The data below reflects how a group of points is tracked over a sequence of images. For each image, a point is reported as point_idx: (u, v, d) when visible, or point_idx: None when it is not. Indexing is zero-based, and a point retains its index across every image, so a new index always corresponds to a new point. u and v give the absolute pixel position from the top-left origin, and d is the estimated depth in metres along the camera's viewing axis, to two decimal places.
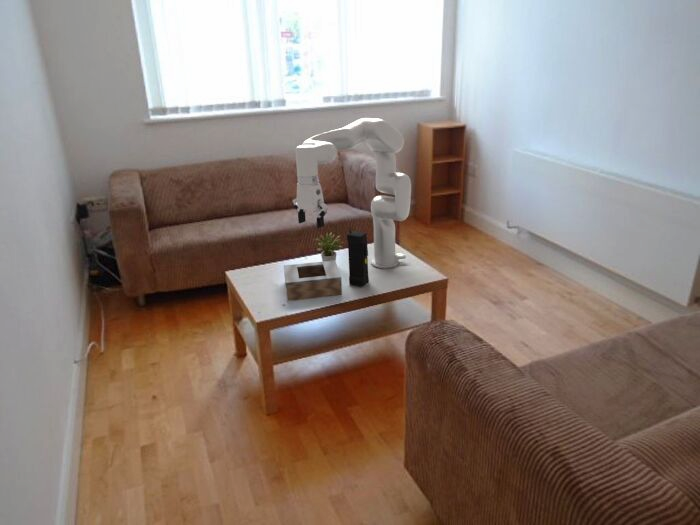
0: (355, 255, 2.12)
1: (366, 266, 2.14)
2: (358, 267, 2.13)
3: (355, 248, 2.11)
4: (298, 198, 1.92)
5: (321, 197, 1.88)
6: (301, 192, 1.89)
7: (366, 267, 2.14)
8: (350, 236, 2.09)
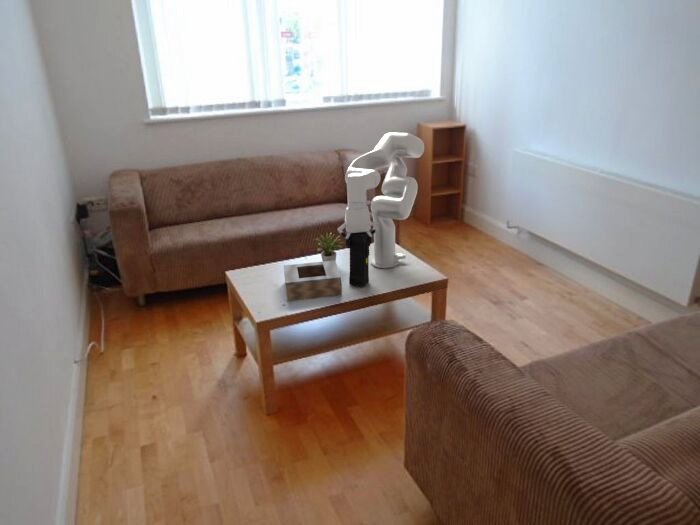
0: (356, 255, 2.12)
1: (367, 266, 2.14)
2: (358, 267, 2.13)
3: (357, 247, 2.11)
4: (349, 224, 2.05)
5: None
6: (355, 217, 2.04)
7: (367, 267, 2.14)
8: (352, 235, 2.09)
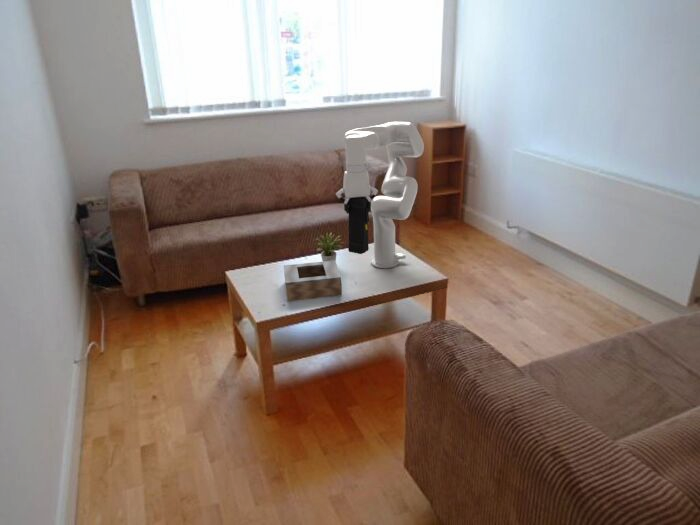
0: (355, 220, 2.07)
1: (366, 232, 2.09)
2: (358, 233, 2.08)
3: (356, 213, 2.05)
4: (348, 188, 2.00)
5: None
6: (354, 180, 1.99)
7: (366, 233, 2.09)
8: (350, 200, 2.03)
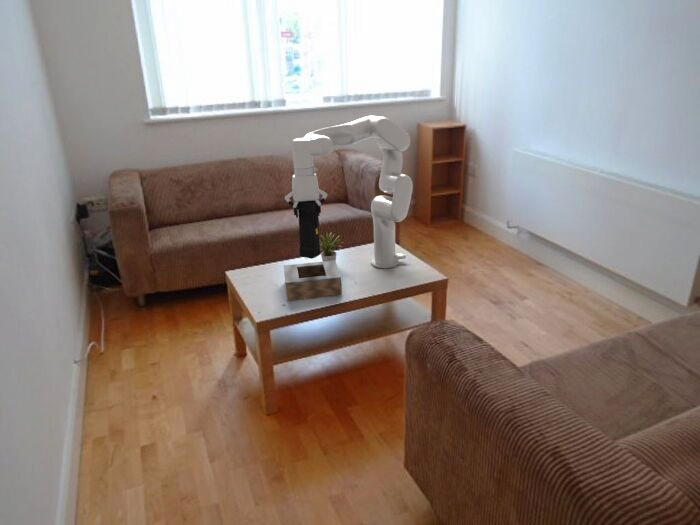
0: (305, 225, 2.04)
1: (317, 237, 2.06)
2: (308, 238, 2.05)
3: (305, 217, 2.02)
4: (296, 191, 1.97)
5: None
6: (302, 184, 1.96)
7: (317, 237, 2.06)
8: (300, 204, 2.00)
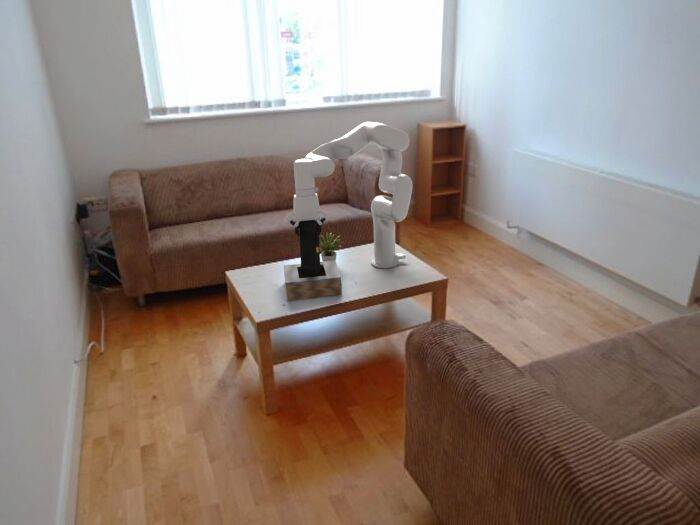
0: (306, 243, 2.07)
1: (318, 255, 2.09)
2: (309, 256, 2.08)
3: (306, 236, 2.05)
4: (297, 211, 2.00)
5: None
6: (303, 204, 1.99)
7: (318, 256, 2.09)
8: (301, 223, 2.03)
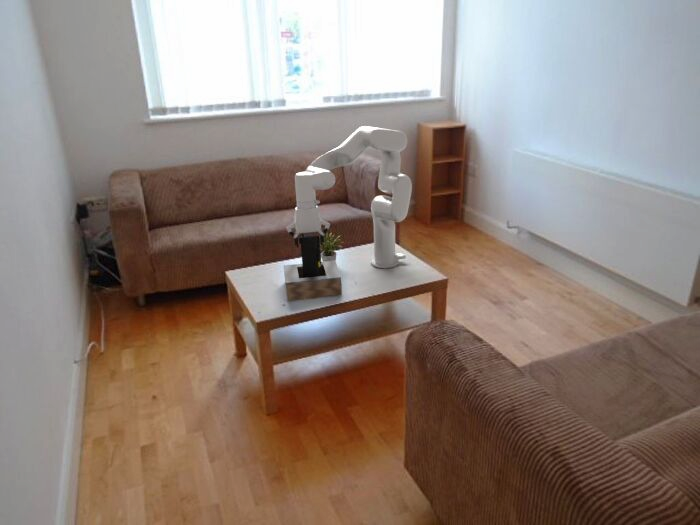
0: (308, 258, 2.09)
1: (320, 269, 2.12)
2: (311, 271, 2.11)
3: (308, 251, 2.08)
4: (298, 224, 2.02)
5: None
6: (304, 216, 2.01)
7: (320, 270, 2.12)
8: (302, 239, 2.06)
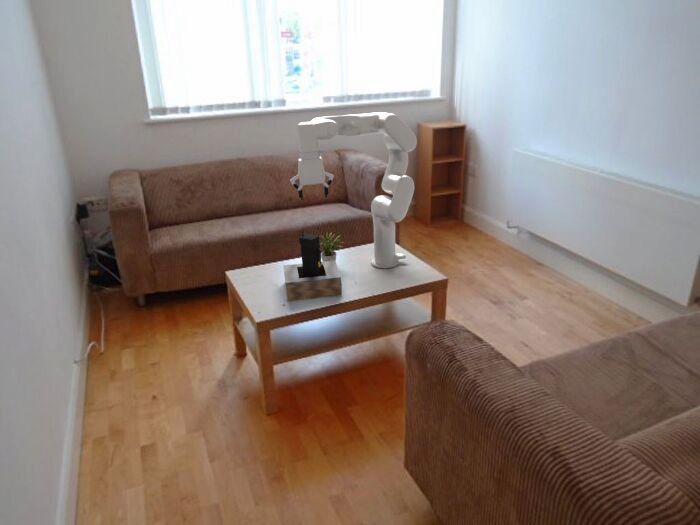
0: (308, 258, 2.09)
1: (320, 269, 2.12)
2: (311, 271, 2.11)
3: (308, 251, 2.08)
4: (302, 175, 2.00)
5: None
6: (308, 167, 1.99)
7: (320, 270, 2.12)
8: (302, 239, 2.06)
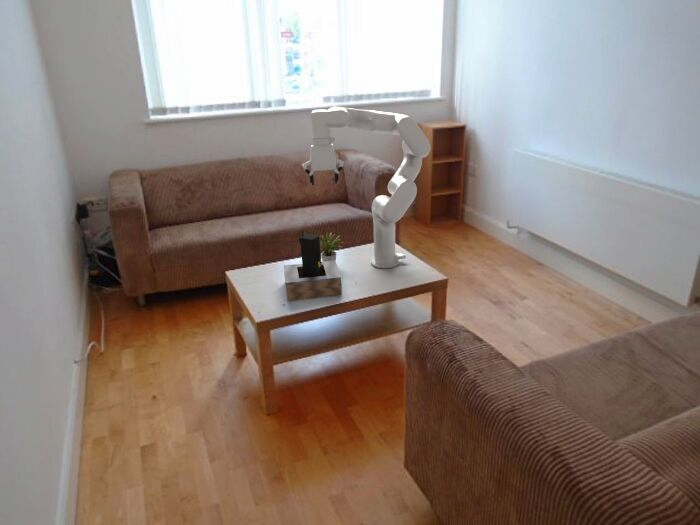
0: (308, 258, 2.09)
1: (320, 269, 2.12)
2: (311, 271, 2.11)
3: (308, 251, 2.08)
4: (314, 161, 2.09)
5: None
6: (319, 153, 2.08)
7: (320, 270, 2.12)
8: (302, 239, 2.06)
